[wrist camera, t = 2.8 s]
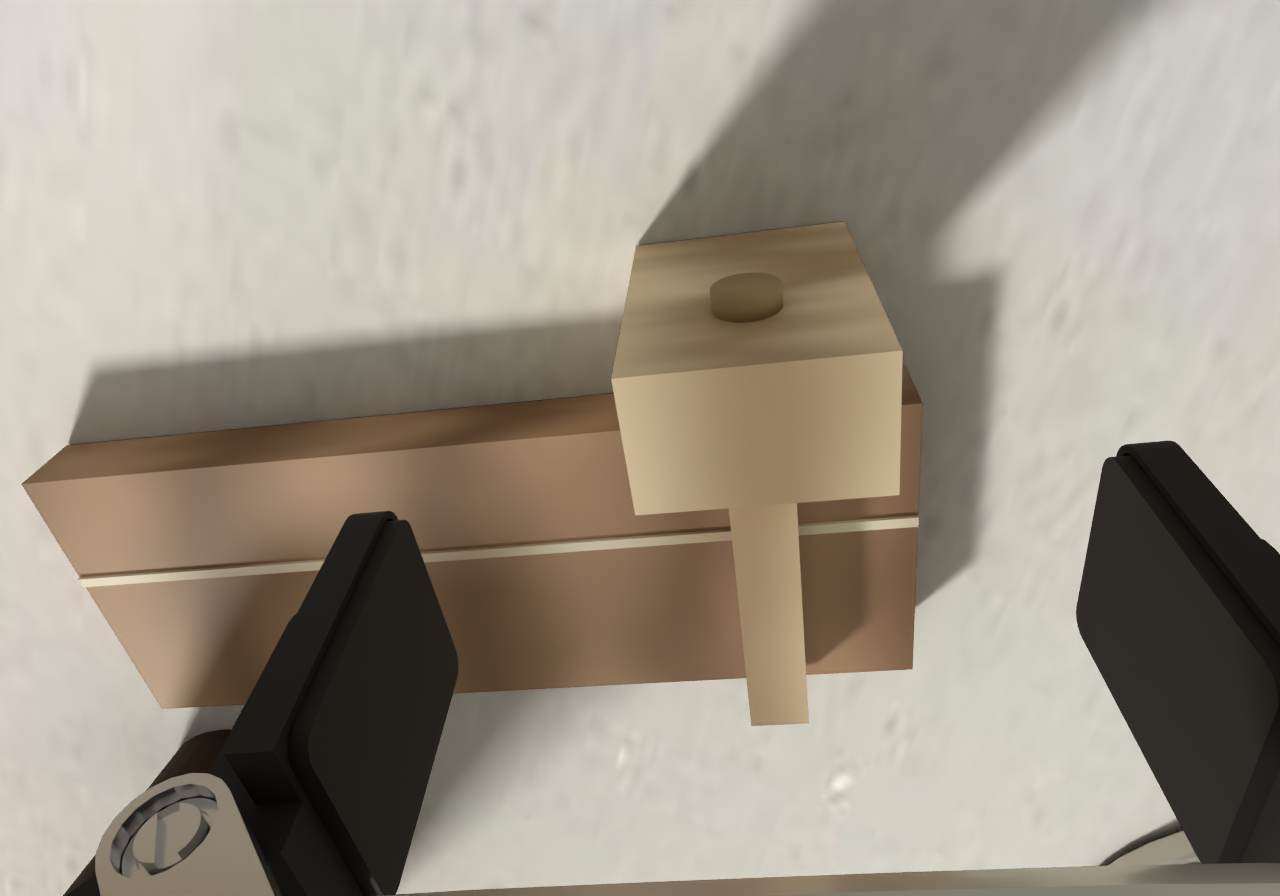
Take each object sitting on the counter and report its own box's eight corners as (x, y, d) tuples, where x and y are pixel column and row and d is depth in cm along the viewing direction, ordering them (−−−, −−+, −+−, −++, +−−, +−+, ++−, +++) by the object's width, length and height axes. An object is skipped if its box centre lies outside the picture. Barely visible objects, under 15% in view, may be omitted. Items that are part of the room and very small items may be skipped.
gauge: (843, 202, 20) (903, 325, 14) (850, 624, 27) (891, 824, 21) (633, 227, 21) (607, 355, 15) (692, 633, 28) (690, 830, 22)
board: (905, 365, 22) (923, 405, 21) (899, 621, 27) (913, 671, 25) (66, 445, 25) (19, 486, 24) (192, 663, 30) (160, 711, 28)
